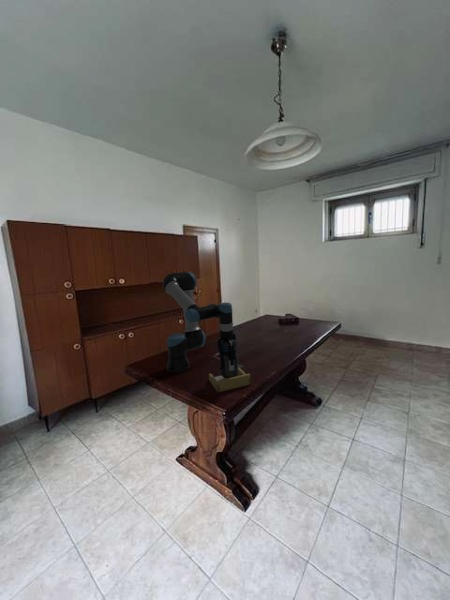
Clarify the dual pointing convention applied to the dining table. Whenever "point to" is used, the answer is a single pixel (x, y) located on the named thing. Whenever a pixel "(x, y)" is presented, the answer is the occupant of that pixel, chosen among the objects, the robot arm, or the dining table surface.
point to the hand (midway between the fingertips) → (228, 366)
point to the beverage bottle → (227, 357)
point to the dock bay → (230, 381)
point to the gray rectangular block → (241, 367)
